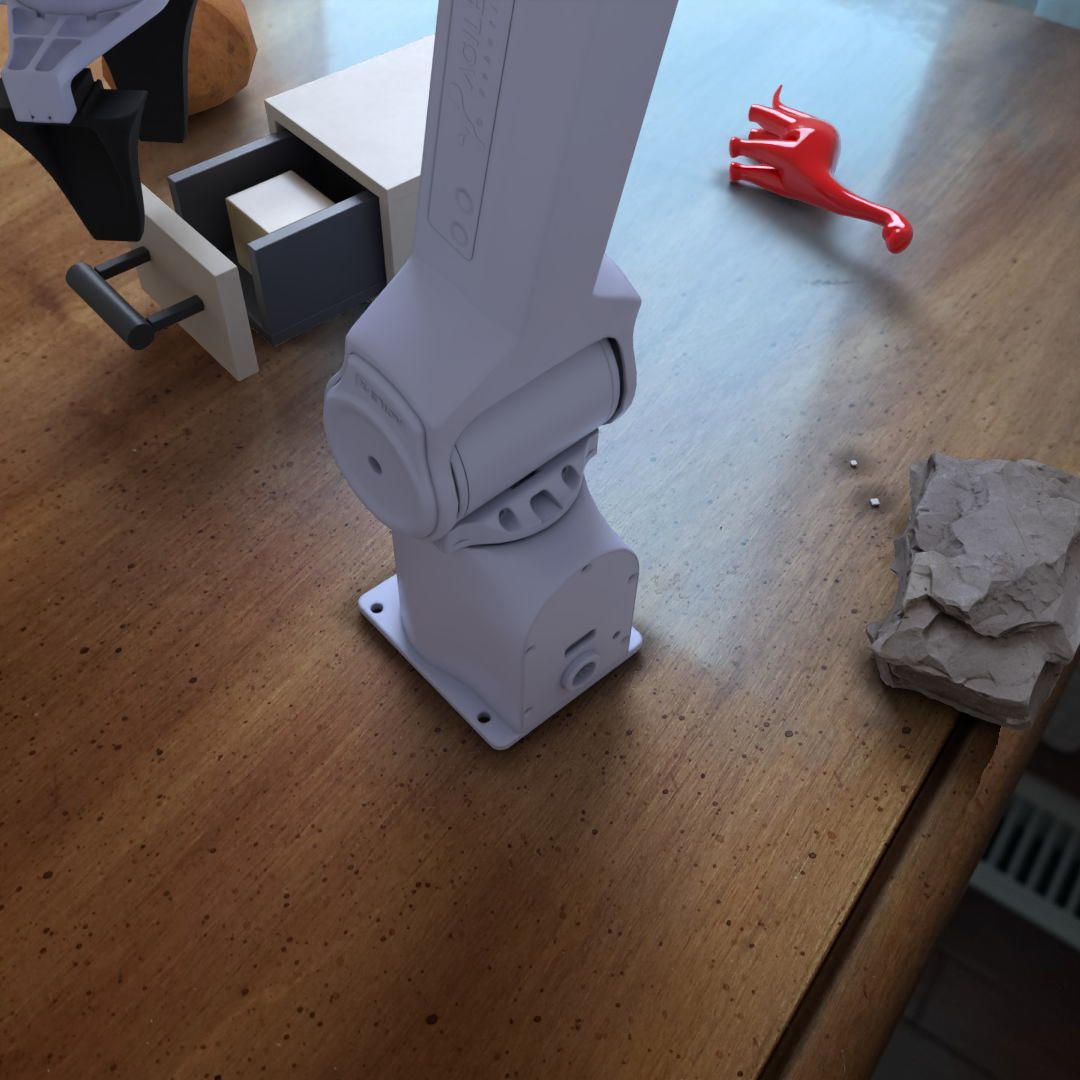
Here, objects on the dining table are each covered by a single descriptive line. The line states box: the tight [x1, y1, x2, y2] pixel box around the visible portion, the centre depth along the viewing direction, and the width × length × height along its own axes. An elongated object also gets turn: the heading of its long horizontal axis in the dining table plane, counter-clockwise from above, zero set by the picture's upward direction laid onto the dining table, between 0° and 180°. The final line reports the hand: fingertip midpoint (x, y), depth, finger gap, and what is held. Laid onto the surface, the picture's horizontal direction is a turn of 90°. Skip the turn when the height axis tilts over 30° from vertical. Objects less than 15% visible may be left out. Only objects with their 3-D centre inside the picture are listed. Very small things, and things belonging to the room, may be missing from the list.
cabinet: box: [263, 33, 435, 303], centre depth 65 cm, size 13×11×8 cm
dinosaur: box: [728, 84, 914, 255], centre depth 70 cm, size 4×15×12 cm
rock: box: [865, 451, 1080, 731], centre depth 50 cm, size 14×9×4 cm
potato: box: [101, 0, 259, 117], centre depth 74 cm, size 9×11×8 cm
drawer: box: [65, 128, 387, 382], centre depth 60 cm, size 16×9×6 cm, turn 131°
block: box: [225, 170, 335, 275], centre depth 61 cm, size 4×4×4 cm
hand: (142, 185), depth 53 cm, fingers open, 7 cm apart
